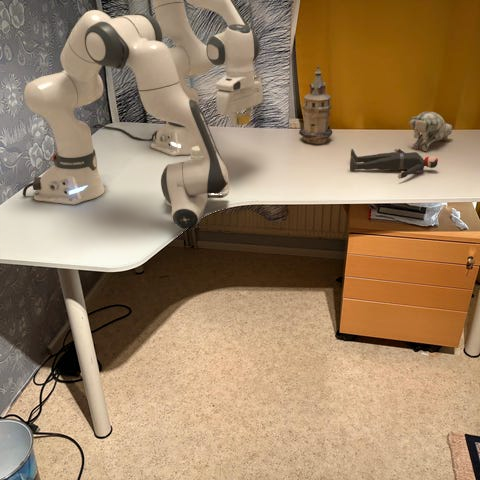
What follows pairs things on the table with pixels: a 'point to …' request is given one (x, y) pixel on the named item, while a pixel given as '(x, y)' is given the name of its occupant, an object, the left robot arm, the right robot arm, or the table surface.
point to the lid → (243, 118)
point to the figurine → (429, 128)
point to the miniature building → (316, 112)
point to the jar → (196, 153)
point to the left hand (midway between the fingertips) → (199, 177)
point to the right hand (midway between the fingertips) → (241, 122)
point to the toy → (393, 162)
